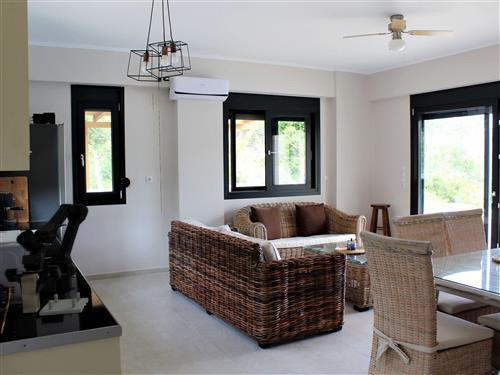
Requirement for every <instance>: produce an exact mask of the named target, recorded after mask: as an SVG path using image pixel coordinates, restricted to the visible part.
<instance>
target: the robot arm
mask: <svg viewBox="0 0 500 375" xmlns="http://www.w3.org/2000/svg"><path fill="white" fill-rule="evenodd" d="M88 213H89V207H87V205H86V204H74V203H73V204H72V203H61V204H59V208H58V209H57V210H56V212H55V213H54V214H53V215H52V216H51V217H50V218H49V220H48V222H46V224H44V225H42V226H39V227H38V228H37V229H36V230H35V231H33V230H32V229H31V228H26V229H25V230H24V231H22V232H20V233H19V234H18V235H17V236H16V239H15V241H16V243H17V244H18V245H19V246H20V247H21V248H22V249H23V250H24V251H25V252H29V253H28V254H23V255H22V256H21V265H22V266H23V269H24V270H21V269H18V267H12V268H10V267H9V268H6V269H5V270H4V273H3V274H4V276H5V278H6V280H7V282H9V283H17V284H19V288H20V292H21V293H20V294H21V295H22V285H21V277H22V276H24V275H27V274H38V276H39V280H38V283H37V287H36V294H38V293H39V294H40V291H42V289H43V288H44V286H45V285H46V284H47V283H48V282H51V281H52V280H55V289H54V290H52V291H53V292H56V293H67V292H70V291H72V290H75V289H76V287H75V286H73V277H74V276H75V275H76V273H77V269H76V268H75V267H74V265H73V258H72V256H71V254H72V251H73V247H74V244H75V240H76V237H77V235H78V231H79V227H80V226H81V224H82V223H83V222H85V220H86V219H87V217H88V215H89V214H88ZM66 220H67V224H66V226H65V230H64V233H63V236H62V239H61V242H60V245H59V248H58V251H57V252H56V253H52V254H51V257H50V260H49V262H48V263H49V264H48V265H47V267H46V269H44V266H45V257H46V254H48V253H49V252H50V251H49V249H48V248H47V246H46V245H52V244H53V243H55V241H56V239H57V237H58V231H59V229H60V227H62V225H63V224H64V223H65V221H66ZM50 278H51V279H50Z"/></svg>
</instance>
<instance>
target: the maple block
mask: <svg viewBox="0 0 500 375" xmlns="http://www.w3.org/2000/svg"><path fill="white" fill-rule="evenodd" d="M37 283H38V274H27V275H24V276H22V277H21V285H22V294H21V296H22V297H21V298H22V312H23V314H27V313H28V314H29V313H37V312H38V311H39V310H41V304H40V302H41V301H40V292H39V293H38V294H36V287H37Z"/></svg>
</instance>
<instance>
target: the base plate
mask: <svg viewBox="0 0 500 375" xmlns="http://www.w3.org/2000/svg"><path fill="white" fill-rule="evenodd" d="M75 295H76V298H68V299H58V294H57V293H56V294H53V298H54V300H53V299H49V300H48V301H47V302H48V303H46V305H45V306H44V307H43V308H42V309H40V311H39V316H50V315H51V316H53V315H65V314H76V313H82V311H83V310H84V308H85V307H84V306H86V305H87V304H88V302H89V297H82V298H81V295H80V292H75ZM86 303H87V304H86Z"/></svg>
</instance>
